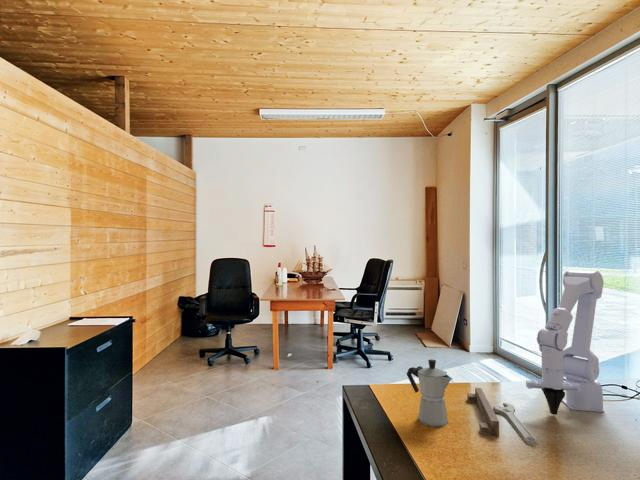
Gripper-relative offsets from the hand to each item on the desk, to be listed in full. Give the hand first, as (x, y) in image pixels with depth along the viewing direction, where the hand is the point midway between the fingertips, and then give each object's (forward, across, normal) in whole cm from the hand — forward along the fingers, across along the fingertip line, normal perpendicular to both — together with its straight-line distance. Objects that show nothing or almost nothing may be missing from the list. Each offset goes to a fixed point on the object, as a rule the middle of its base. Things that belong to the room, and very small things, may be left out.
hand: (553, 413), depth 119 cm
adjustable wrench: (+2, -13, -8) cm, 15 cm away
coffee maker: (+1, -37, -10) cm, 38 cm away
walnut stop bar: (+1, -21, -4) cm, 22 cm away
